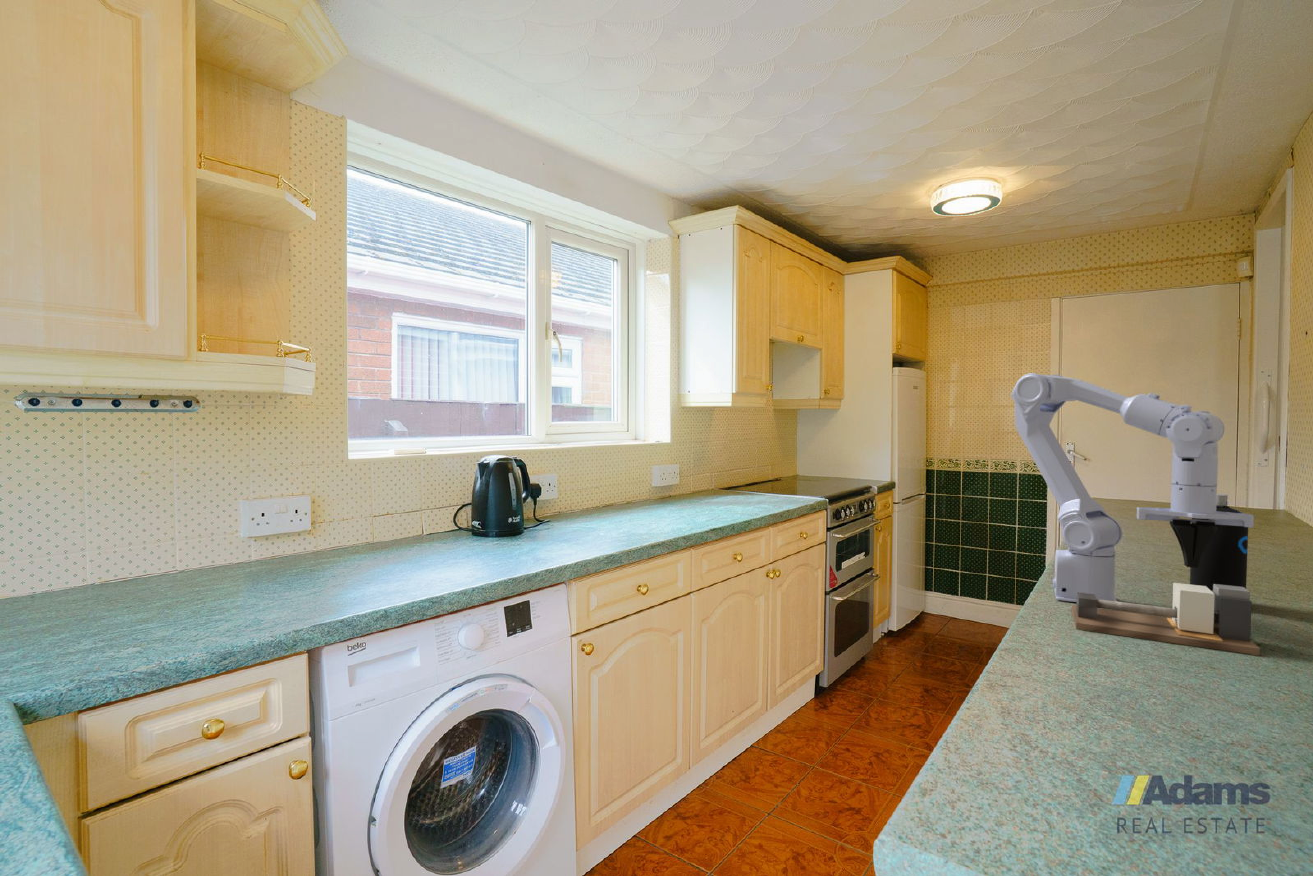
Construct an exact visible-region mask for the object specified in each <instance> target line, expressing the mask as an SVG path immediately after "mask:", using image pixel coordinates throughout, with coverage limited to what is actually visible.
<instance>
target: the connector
mask: <svg viewBox="0 0 1313 876" xmlns="http://www.w3.org/2000/svg"><path fill="white" fill-rule="evenodd" d="M1211 591H1212V592H1213V593H1214V614H1216V623H1213V630H1214V631H1215V633H1216V634H1217V635H1218V636H1219V637H1220V638H1227V639H1234V640H1241V641H1248V642H1250V640H1251V635H1252V634H1251V633H1252V632H1251V631H1252V609H1253V608H1252V607H1253V606H1252V605H1253V604H1252V603H1253V601H1252V600H1251V599H1250V598H1251V595H1250V594H1251V591H1249V590H1248V589H1247V587H1246V588H1244V587H1239V586H1229V585H1220V584H1213V590H1211Z"/></svg>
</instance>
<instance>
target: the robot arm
mask: <svg viewBox="0 0 1313 876" xmlns="http://www.w3.org/2000/svg"><path fill="white" fill-rule="evenodd" d="M1010 397H1011V399H1012V400H1013V402H1014V421H1015V422H1014V426H1015V429H1016V432H1017V433H1018V434H1019V437H1020V439H1021V440H1022V442H1023V443H1024V446H1025V447H1026V449H1027V450H1028V452H1029V454H1030V456H1031V458H1032V460H1033V462H1034V463H1035V465H1036V467H1037V468H1038V470H1039V473H1040V474H1041V476H1042V478H1043V479H1044V482H1045V483H1046V485H1047V487H1048V488H1049V490H1050V493H1051V494H1052V496H1053V498H1054V499H1055V501H1056V504H1057V505H1058V507H1059V511H1058V515H1057V520H1058V522H1059V524H1060V527H1061V537H1062V540H1063V542H1064V544H1065V545H1066V546H1067V547H1068V548H1067V549H1056V550H1055V557H1054V578H1052V588H1053V591H1054V596H1055V600H1058V601H1063V602H1064V601H1065V602H1070V603H1071V602H1072V603H1077V592H1080V593H1088V594H1095V596H1096V598H1097V599H1101V600H1109V601H1117V602H1118V600H1117V598H1116V596H1115V585H1116V583H1115V582H1116V580H1115V577H1116V551H1115V546H1117V545H1118V544H1119V543H1121V539H1122V538H1123V530H1122V525H1120V523H1119V522H1118V520H1116V519H1115V518H1113V517H1112V516H1111V515H1109V514H1108V513H1107V511H1106V510H1105V508H1104V506H1103V505H1101V504H1100V503H1099V502H1097V501H1096V500H1094V498H1092V497H1091V495H1090V494H1089V492H1088V490H1087V488H1086V487H1085V485H1084V483H1083V481H1082V479H1081V478H1080V477H1079V475H1078V473H1077V472H1076V469H1075V468H1074V466H1073V464H1072V463H1071V461H1070V459H1069V458H1068V456H1067V454H1066V452H1065V451H1064V448H1063V447H1062V445H1061V444H1060V442H1059V440H1058V439H1057V437H1056V435H1055V433H1054V432H1053V429H1052V428H1051V426H1050V424H1051V422H1052V420H1053V418H1054V416H1055V415H1056V414H1057V413H1058V411H1059V410H1060V409H1061V408H1062V407H1063V406H1064V405H1065V403H1066V402H1075V401H1078V402H1082V403H1084V404H1087V405H1092V406H1093V407H1094V406H1095V407H1098V408H1101V409H1104V410H1106V411H1107V410H1108V411H1110V412H1113V413H1116V414H1119V415H1120V417H1121V418H1122V420H1123V423H1124V424H1126V425H1129V426H1131V427H1134V428H1137V429H1140V430H1142V431H1146V432H1148V433H1151V434H1153V435H1157V436H1159V437H1163V438H1168V440H1169V441H1170V442H1171V443H1172V457H1171V483H1170V485H1171V486H1170V487H1171V488H1170V507H1169V508H1168V507H1141V506H1137V507H1136V519H1137V520H1139V521H1159V522H1161V521H1162V522H1169V525H1170V527H1171V529H1172V531H1173V533H1174V535H1175V537H1176V538H1177V541H1178V543H1179V546H1180V549H1181V552H1182V556H1183V562H1184V563H1183V564H1184V566H1186V567H1187V568H1190V567H1193V568H1198V565H1199V561H1200V558H1201V555H1202V553H1203V551H1204V549H1205V547H1206V545H1207V544H1208V542H1209V541H1210V539H1211V538H1212V537H1213V535H1214V534H1215V533H1216V530H1217V527H1216V526H1215V524H1218V525H1233V526H1244V527H1248V528H1254V525H1255V523H1254V520H1255V516H1254V515H1253V514H1250V513H1243V512H1242V513H1231V512H1220V511H1216V502H1217V494H1218V476H1219V475H1218V471H1219V470H1218V469H1219V467H1218V466H1219V463H1218V462H1219V458H1218V456H1219V455H1218V454H1219V453H1218V452H1219V451H1218V450H1219V449H1218V448H1219V443H1218V442H1219V441H1220V440H1221V439H1222V438H1223V436H1224V434H1225V424H1224V422H1223V421H1222V420H1221V418H1219V417H1218V416H1216V415H1214V414H1212V413H1210V411H1206V410H1201V411H1200V410H1199V411H1192V410H1191V409H1192V406H1191V405H1190V404H1189V405H1188V404H1185V403H1184V404H1181V405H1179V404H1176V403H1173V402H1169V401H1166V400H1164V399H1160V397H1161V395H1160V394H1157V393H1153V392H1149V393H1148V394H1144V393H1140V394H1136V395H1134V396H1132V397H1131V396H1130V397H1129V396H1126V395H1124V394H1121V393H1119V392H1116V391H1112V390H1110V389H1107V388H1106V387H1102V386H1099V385H1096V384H1093V383H1091V382H1088V381H1085V380H1082V379H1079V378H1078V379H1077V378H1073V377H1067V376H1066V377H1065V376H1063V375H1059V374H1052V375H1051V374H1050V375H1049V374H1039V373H1036V372H1032V373H1031V372H1030V373H1025V374H1024V375H1022V376H1021V377H1020V378H1018V380H1017V381H1016V384H1015V386H1014V387H1013V389H1012V392H1011V394H1010ZM1192 518H1198V519H1209V520H1195V519H1192ZM1210 520H1213V521H1210Z"/></svg>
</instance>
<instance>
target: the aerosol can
mask: <svg viewBox="0 0 1313 876" xmlns="http://www.w3.org/2000/svg"><path fill="white" fill-rule="evenodd" d="M1228 496H1229V494H1222V493H1221V494H1220V493H1217V502H1216V511H1220V512H1231V513H1243V512H1242V511H1240V510H1237V509H1235V508H1232V507H1230V506H1229V505H1228V498H1229V497H1228ZM1191 519H1195V520H1209V519H1198V518H1191ZM1210 521H1213V520H1210ZM1215 526H1216V527H1217V530H1216V533H1215V534H1214V535H1213V537H1212V538H1211V539H1210V541H1209V542H1208V544H1207V545H1206V547H1205V549H1204V551H1203V553H1202V555H1201V558H1200V561H1199V565H1198V568H1193V567H1189V569H1190V570H1189V584H1190V585H1199V586H1206V587H1207V588H1208V589H1210V590H1213V584H1220V585H1229V586H1239V587H1244V588H1246V589H1247V577H1248V575H1247V574H1248V547H1249V545H1248V544H1249V527H1244V526H1233V525H1218V524H1215Z"/></svg>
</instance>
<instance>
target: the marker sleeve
mask: <svg viewBox="0 0 1313 876" xmlns="http://www.w3.org/2000/svg"><path fill="white" fill-rule="evenodd" d="M1172 608H1173V609H1177V618H1173V617H1171V618H1172V621H1173V622H1174V623H1175V625H1176V626H1177V627H1178V629H1180V630H1188V631H1195V632H1202V633H1210V634H1213V623H1214V593H1213V592H1212V591H1211V590H1210V589H1208V588H1207V587H1206V586H1199V585H1190V583H1181V582H1179V583H1178V582H1173V584H1172Z"/></svg>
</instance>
